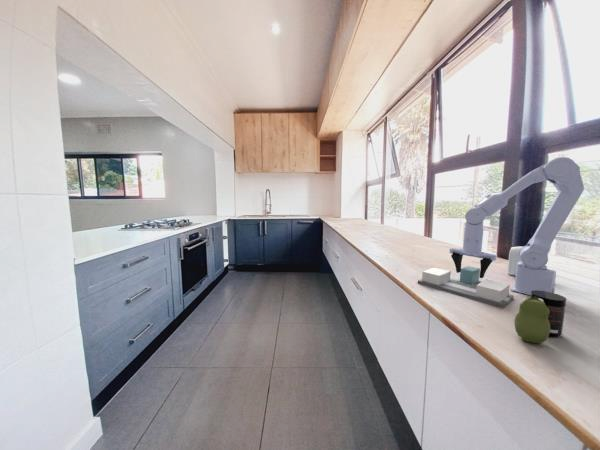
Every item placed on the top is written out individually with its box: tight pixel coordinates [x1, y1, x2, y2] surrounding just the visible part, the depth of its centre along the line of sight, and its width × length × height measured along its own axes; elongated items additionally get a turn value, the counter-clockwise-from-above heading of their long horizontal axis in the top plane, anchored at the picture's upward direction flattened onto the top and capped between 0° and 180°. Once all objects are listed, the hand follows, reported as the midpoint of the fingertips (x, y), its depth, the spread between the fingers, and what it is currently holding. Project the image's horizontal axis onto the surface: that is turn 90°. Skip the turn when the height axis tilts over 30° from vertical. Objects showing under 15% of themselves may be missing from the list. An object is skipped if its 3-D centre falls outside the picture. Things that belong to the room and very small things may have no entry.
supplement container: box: [529, 290, 568, 338], centre depth 56 cm, size 6×6×9 cm
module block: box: [459, 265, 481, 285], centre depth 91 cm, size 4×7×5 cm, turn 126°
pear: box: [514, 295, 550, 344], centre depth 52 cm, size 6×5×10 cm
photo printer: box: [507, 245, 524, 277], centre depth 95 cm, size 10×4×12 cm, turn 39°
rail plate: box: [417, 267, 514, 309], centre depth 82 cm, size 25×11×4 cm, turn 36°
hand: (469, 274), depth 91 cm, fingers open, 7 cm apart
